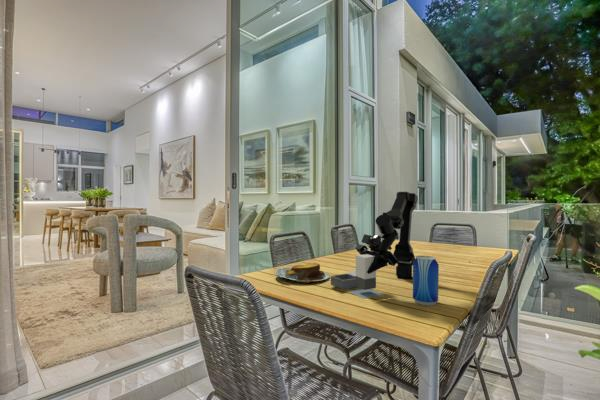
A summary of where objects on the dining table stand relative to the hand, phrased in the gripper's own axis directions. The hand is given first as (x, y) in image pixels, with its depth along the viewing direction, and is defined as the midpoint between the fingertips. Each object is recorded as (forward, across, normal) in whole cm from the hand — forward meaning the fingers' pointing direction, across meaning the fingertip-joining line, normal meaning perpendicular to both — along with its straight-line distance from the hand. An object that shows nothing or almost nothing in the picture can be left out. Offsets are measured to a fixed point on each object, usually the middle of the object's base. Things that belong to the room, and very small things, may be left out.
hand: (362, 271), depth 120 cm
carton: (+6, -12, +6) cm, 14 cm away
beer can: (-4, +17, +16) cm, 24 cm away
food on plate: (+14, -32, 0) cm, 35 cm away
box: (+3, 0, +5) cm, 6 cm away
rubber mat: (+5, 0, +7) cm, 9 cm away
